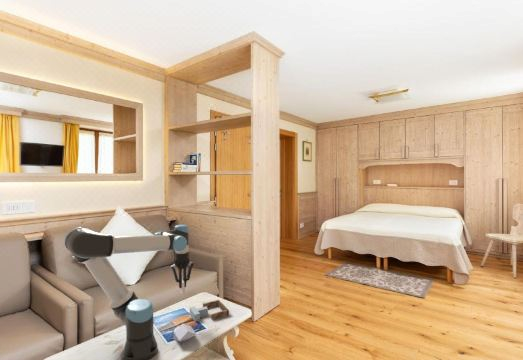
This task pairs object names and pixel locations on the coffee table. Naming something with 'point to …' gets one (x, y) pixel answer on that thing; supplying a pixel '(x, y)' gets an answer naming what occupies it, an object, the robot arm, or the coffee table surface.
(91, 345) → the coffee table surface
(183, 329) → the pale lavender faceted block
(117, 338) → the coffee table surface
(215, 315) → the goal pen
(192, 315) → the t block
